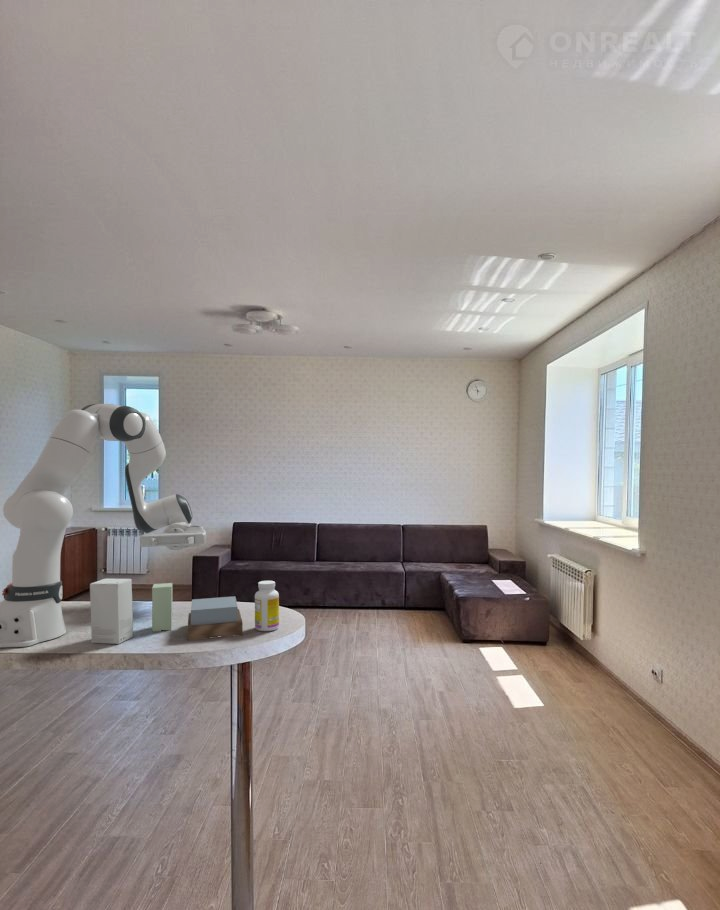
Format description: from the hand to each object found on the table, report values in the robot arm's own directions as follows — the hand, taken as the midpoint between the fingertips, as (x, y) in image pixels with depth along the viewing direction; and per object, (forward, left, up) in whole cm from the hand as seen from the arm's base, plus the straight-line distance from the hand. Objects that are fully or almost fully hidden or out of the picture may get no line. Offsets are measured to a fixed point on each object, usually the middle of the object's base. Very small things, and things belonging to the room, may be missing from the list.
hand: (170, 542), depth 166 cm
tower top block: (+12, -22, -18) cm, 31 cm away
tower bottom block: (+13, -22, -22) cm, 34 cm away
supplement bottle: (+27, -25, -22) cm, 42 cm away
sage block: (-1, -16, -22) cm, 27 cm away
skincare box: (-13, -23, -22) cm, 34 cm away
